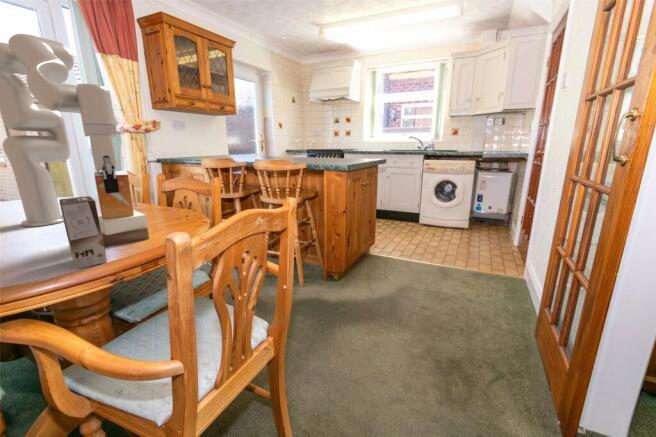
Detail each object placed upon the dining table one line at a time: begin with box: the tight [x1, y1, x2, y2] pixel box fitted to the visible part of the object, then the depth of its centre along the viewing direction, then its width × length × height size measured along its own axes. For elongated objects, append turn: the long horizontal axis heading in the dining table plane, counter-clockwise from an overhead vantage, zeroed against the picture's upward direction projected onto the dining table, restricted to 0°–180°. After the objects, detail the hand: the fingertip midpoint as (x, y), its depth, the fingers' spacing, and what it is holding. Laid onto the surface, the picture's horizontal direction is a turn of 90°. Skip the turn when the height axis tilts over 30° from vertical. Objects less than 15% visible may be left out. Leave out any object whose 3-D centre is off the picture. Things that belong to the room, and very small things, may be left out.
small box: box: [94, 170, 134, 219], centre depth 89 cm, size 8×6×13 cm
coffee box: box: [58, 195, 108, 270], centre depth 74 cm, size 9×6×16 cm
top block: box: [98, 209, 149, 235], centre depth 92 cm, size 11×11×4 cm
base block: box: [101, 227, 150, 248], centre depth 93 cm, size 12×12×4 cm
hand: (111, 190), depth 89 cm, fingers open, 9 cm apart
